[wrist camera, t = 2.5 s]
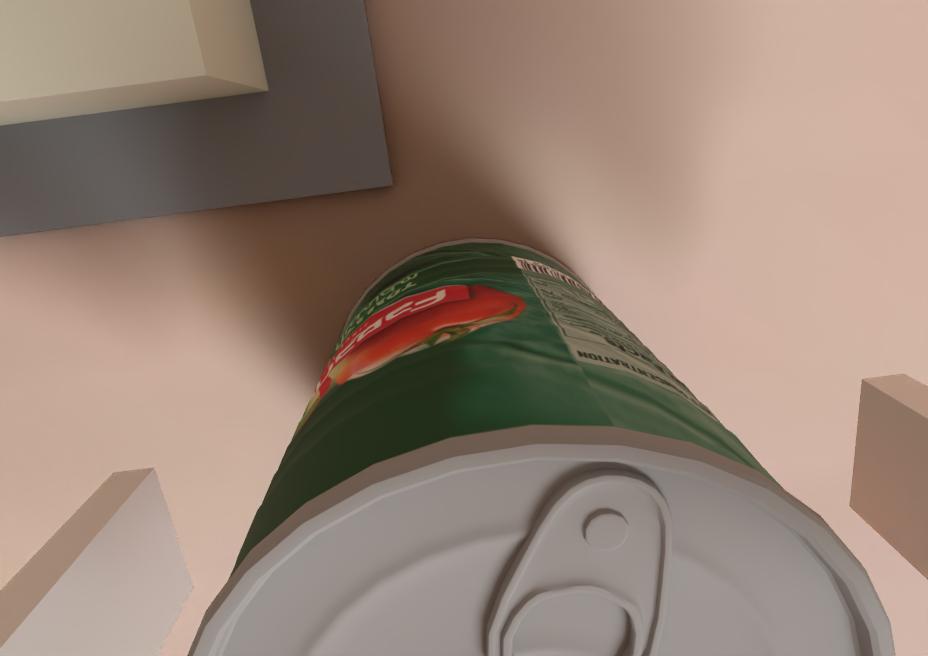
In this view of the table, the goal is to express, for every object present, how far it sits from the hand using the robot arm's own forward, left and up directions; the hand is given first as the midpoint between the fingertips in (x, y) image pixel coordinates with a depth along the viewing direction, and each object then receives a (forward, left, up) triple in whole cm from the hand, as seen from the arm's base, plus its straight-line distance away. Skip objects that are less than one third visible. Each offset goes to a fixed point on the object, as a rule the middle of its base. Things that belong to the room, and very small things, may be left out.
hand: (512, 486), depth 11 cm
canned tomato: (0, 0, -6) cm, 6 cm away
